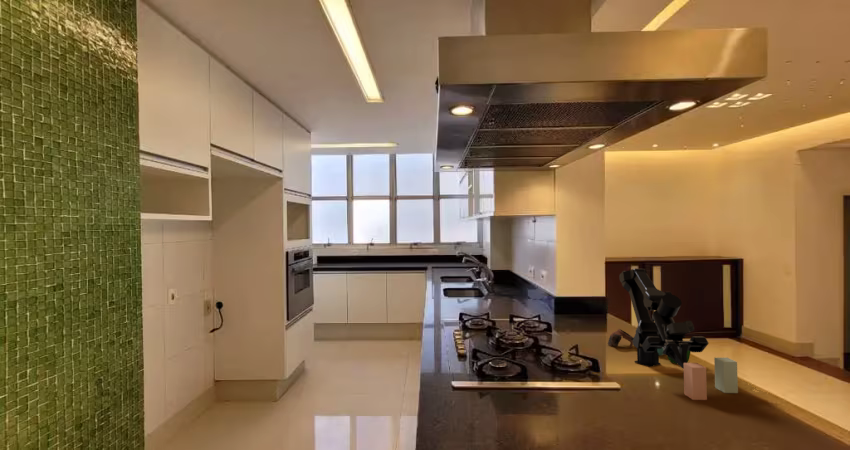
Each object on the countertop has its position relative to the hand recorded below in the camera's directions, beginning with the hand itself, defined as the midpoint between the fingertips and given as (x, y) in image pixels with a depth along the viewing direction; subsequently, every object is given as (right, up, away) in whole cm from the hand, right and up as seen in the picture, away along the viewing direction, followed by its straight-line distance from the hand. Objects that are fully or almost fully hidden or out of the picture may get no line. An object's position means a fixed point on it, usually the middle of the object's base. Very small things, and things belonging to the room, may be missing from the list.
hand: (685, 368), depth 132 cm
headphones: (+3, -8, +52) cm, 52 cm away
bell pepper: (+15, -8, +28) cm, 32 cm away
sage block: (+13, -7, 0) cm, 14 cm away
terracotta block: (0, -7, -5) cm, 9 cm away
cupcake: (+13, -8, +40) cm, 42 cm away
